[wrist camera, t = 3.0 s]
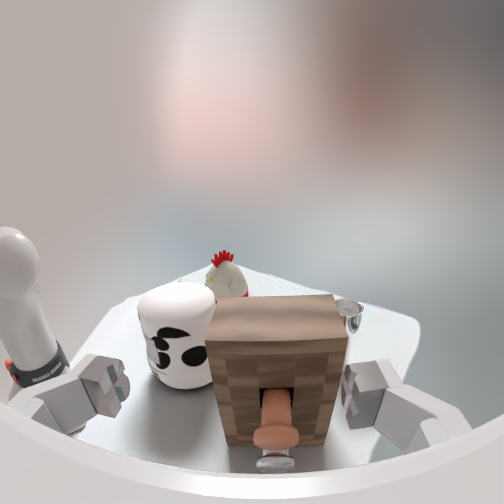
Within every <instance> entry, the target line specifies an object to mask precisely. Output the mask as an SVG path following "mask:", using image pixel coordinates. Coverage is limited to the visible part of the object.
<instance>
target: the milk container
mask: <svg viewBox="0 0 504 504" xmlns="http://www.w3.org/2000/svg"><path fill="white" fill-rule="evenodd" d="M215 307H216V301H215V297H214V294H213V292H212V291H211V290H210V289H209V288H208V287H206V286H204V285H201V284H198V283H191V282H181V283H172V284H167V285H163V286H160V287H158V288H155V289H153V290H151V291H149V292H148V293H146V294H145V295H144V296H143V297H142V298H141V299H140V300H139V303H138V306H137V310H138V316H139V320H140V323H141V328H142V332H143V335H144V337H145V340H146V344H147V360H148V363H149V366H150V368H151V370H152V372H153V373H154V375H155V376H156V377H157V379H158V380H159V381H161V382H162V383H164V384H165V385H167V386H169V387H172V388H176V389H195V388H199V387H203V386H205V385H207V384H209V383H211V382H213V381H212V377H211V372H210V367H209V362H208V357H207V352H206V346H205V341H204V340H205V337H206V334H207V331H208V328H209V325H210V322H211V319H212V316H213V313H214V310H215Z"/></svg>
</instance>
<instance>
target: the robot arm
mask: <svg viewBox="0 0 504 504" xmlns="http://www.w3.org/2000/svg"><path fill="white" fill-rule="evenodd" d="M39 271H40V263H39V257H38V254H37V251H36V249H35V247H34V246H33V244H32V243H31V242H30V240H29V239H28V238H27V237H26V236H25V235H24V234H23V233H22V232H20V231H19V230H17V229H15V228H11V227H2V226H0V338H1V340H2V342H3V344H4V346H5V348H6V350H7V352H8V354H9V355H10V357H11V359H12V361H13V362H12V361H11V360H10V359H7V360H6V361H5V365H6V368H7V370H8V371H10V374H11V376H12V378H13V380H14V383H13V386H12V389H11V391H10V394H9V402H8V403H7V404H4V403H2V402H1V401H0V504H504V414H503V415H501V416H499V417H497V418H495V419H494V420H492V421H490V422H488V423H486V424H484V425H482V426H480V427H478V428H475V429H473V430H472V428H471V427H470V425H469V424H468V422H467V420H466V419H465V417H464V416H463V414H462V413H461V412H460V410H459V409H458V408H456V407H454V406H452V405H450V404H448V403H445V402H443V401H441V400H439V399H437V398H435V397H433V396H430V395H428V394H426V393H424V392H422V391H420V390H418V389H416V388H414V387H412V386H410V385H404V384H403V383H402V381H401V379H400V378H399V376H398V374H397V373H396V371H395V369H394V368H393V366H392V365H391V363H390V361H389V360H388V359H380V360H374V361H370V362H363V363H355V364H347V365H346V367H345V372H344V374H345V377H346V380H345V381H344V382H343V384H342V393H341V398H342V404H343V407H344V408H345V409H346V410H347V414H346V418H347V421H348V425H349V428H350V429H358V428H365V427H372V426H373V428H375V429H376V430H377V431H378V432H379V433H381V434H382V435H383V436H384V437H386V438H387V439H388V440H389V441H390V442H392V443H393V444H394V445H395V446H397V447H398V448H399V449H400V450H402V451H403V452H404V455H402V456H399V457H394V458H391V459H387V460H383V461H378V462H373V463H368V464H363V465H358V466H352V467H346V468H340V469H332V470H324V471H314V472H302V473H284V474H245V473H226V472H214V471H204V470H196V469H189V468H182V467H176V466H170V465H165V464H160V463H155V462H150V461H146V460H142V459H138V458H134V457H130V456H126V455H122V454H119V453H116V452H112V451H109V450H106V449H103V448H100V447H97V446H94V445H91V444H88V443H85V442H83V441H80V440H77V439H75V438H72V437H70V436H67V435H68V434H70V433H72V432H74V431H77V430H79V429H81V428H83V427H84V426H85V424H86V422H87V421H88V420H90V419H91V418H93V417H94V416H96V415H97V414H100V415H104V416H108V417H113V418H115V417H116V415H117V414H118V412H119V411H120V409H121V407H122V406H121V402H123V401H125V400H126V399H127V397H128V396H129V392H130V382H129V379H128V377H127V376H126V375H125V374H124V373H123V371H124V369H125V368H124V365H123V362H122V361H121V360H119V359H114V358H109V357H104V356H98V355H93V354H87V355H86V356H85V357H84V358H83V359H82V360H81V361H80V362H79V363H78V364H77V365H76V366H75V367H74V368H73V369H72V370H71V368H70V366H69V363H68V360H67V358H66V356H65V353H64V352H63V349H62V347H61V346H60V345H59V343H58V342H57V341H56V340H55V338H54V336H53V333H52V331H51V329H50V326H49V324H48V322H47V319H46V316H45V314H44V311H43V307H42V303H41V298H40V291H39V285H38V277H39Z"/></svg>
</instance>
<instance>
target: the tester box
mask: <svg viewBox="0 0 504 504" xmlns="http://www.w3.org/2000/svg"><path fill="white" fill-rule="evenodd" d="M204 341H205V346H206V352H207V357H208V362H209V367H210V372H211V377H212V381H213V386H214V391H215V395H216V400H217V404H218V408H219V413H220V417H221V421H222V425H223V429H224V433H225V437H226V441H227V445H228V446H243V447H257V446H256V445H255V444H254V442H253V438H254V431H255V430H256V429H257V428H258V427H260V426H261V421H262V402H263V388H283V387H290V401H291V425H292V426H294V427H295V428H296V429H297V430H298V432H299V442H298V444H297V445H295V446H310V445H322V444H324V442H325V438H326V435H327V431H328V427H329V424H330V420H331V416H332V412H333V409H334V405H335V400H336V396H337V392H338V388H339V383H340V378H341V374H342V369H343V364H344V359H345V354H346V348H347V343H348V335H347V332H346V329H345V326H344V324H343V321H342V318H341V315H340V313H339V310H338V307H337V305H336V302H335V300H334V297H333V294H327V295H302V296H265V297H219V298H218V301H217V304H216V307H215V310H214V313H213V316H212V319H211V322H210V325H209V328H208V331H207V334H206V337H205V340H204Z"/></svg>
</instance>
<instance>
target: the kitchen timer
mask: <svg viewBox="0 0 504 504" xmlns="http://www.w3.org/2000/svg"><path fill="white" fill-rule="evenodd" d="M229 257H230V258H229ZM232 260H233V254H232V255H231V256H230V253H229V252H227V254H226V251H225V250H223V255H222V252H219V258H218V256H217V254H215V261H214V260H212V259H211V261H212V263H213V264H214V265H213V266H212V268H211V269H210V271H209V272H208V273H207V275H206V283H205V286H206V287H208V288H209V289H210V290H211V291H212V292H213V294H214V297H215V301H216V304H217V301H218V298H219V297H247V296H248V286H247V283H246V281H245V278H244V276H243V274H242V272H241V270H240V269H239V268H238V267H237V266H236V265H235V264H234V263H232Z"/></svg>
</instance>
